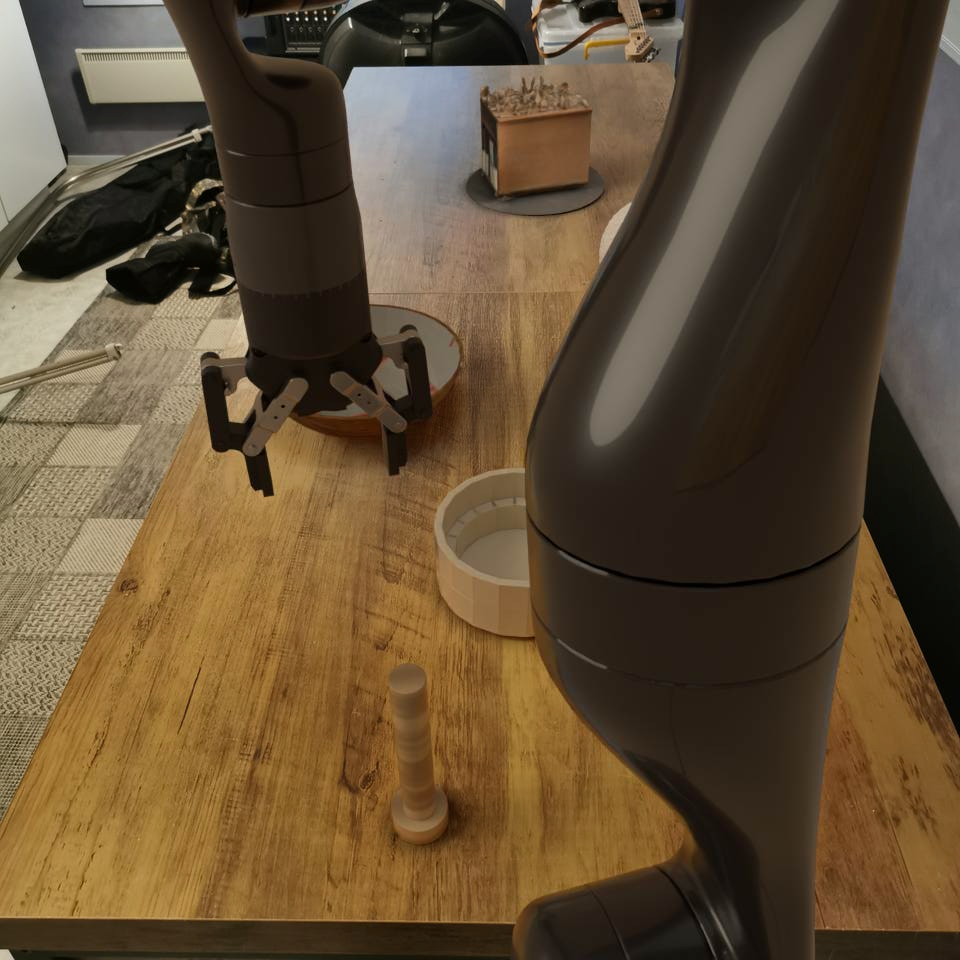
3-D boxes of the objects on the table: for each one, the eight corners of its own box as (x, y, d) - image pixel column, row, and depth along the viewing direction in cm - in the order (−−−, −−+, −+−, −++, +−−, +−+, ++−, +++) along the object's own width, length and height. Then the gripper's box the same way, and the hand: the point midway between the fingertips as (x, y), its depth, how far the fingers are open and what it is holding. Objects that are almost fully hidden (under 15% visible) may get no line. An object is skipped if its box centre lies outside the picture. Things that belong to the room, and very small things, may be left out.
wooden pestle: (453, 838, 72) (445, 698, 61) (397, 850, 72) (378, 710, 60) (443, 789, 76) (434, 647, 64) (389, 799, 75) (370, 658, 63)
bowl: (245, 379, 121) (234, 326, 116) (426, 340, 128) (423, 288, 123) (289, 497, 103) (278, 440, 98) (496, 443, 110) (496, 388, 105)
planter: (545, 229, 154) (549, 114, 142) (437, 189, 167) (433, 81, 155) (631, 183, 168) (642, 75, 156) (525, 149, 181) (528, 47, 169)
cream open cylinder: (624, 624, 89) (631, 570, 84) (454, 654, 86) (452, 599, 81) (575, 511, 101) (579, 457, 96) (425, 533, 99) (421, 480, 94)
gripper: (173, 305, 49) (228, 533, 59) (434, 272, 52) (444, 494, 62) (172, 247, 55) (223, 464, 65) (407, 220, 58) (421, 432, 68)
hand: (331, 479), depth 64 cm, fingers open, 8 cm apart
